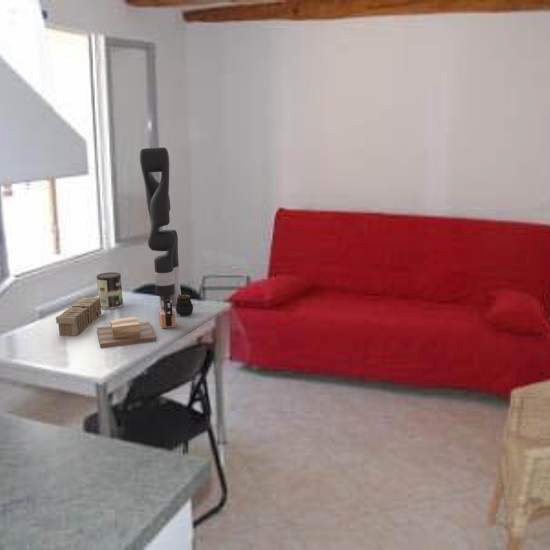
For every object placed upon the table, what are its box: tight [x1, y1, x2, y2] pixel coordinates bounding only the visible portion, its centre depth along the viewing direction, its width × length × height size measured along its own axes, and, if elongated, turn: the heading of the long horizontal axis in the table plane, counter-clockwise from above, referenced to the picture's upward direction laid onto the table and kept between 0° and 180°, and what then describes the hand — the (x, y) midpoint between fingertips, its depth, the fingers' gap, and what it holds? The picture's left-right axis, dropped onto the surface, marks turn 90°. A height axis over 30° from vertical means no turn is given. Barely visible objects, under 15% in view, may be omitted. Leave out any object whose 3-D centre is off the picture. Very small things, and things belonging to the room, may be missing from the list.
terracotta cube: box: [158, 308, 177, 329], centre depth 260 cm, size 6×6×6 cm
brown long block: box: [55, 296, 102, 336], centre depth 264 cm, size 8×8×29 cm
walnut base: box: [96, 316, 157, 349], centre depth 250 cm, size 20×20×6 cm
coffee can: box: [96, 271, 124, 310], centre depth 289 cm, size 10×10×14 cm
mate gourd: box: [175, 294, 194, 317], centre depth 273 cm, size 7×8×10 cm
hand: (167, 323), depth 261 cm, fingers closed on terracotta cube, 5 cm apart
